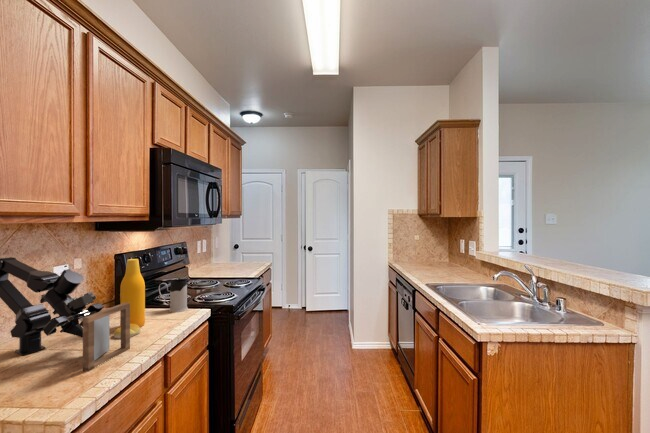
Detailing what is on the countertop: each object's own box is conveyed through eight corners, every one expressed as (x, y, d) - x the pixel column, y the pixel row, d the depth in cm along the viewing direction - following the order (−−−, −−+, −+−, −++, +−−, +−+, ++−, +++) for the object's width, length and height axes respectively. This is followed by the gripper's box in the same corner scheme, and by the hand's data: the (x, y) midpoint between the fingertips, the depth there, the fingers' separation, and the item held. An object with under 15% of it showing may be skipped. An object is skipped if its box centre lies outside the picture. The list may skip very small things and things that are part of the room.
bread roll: (109, 337, 125) (109, 327, 125) (130, 330, 133) (130, 320, 133) (123, 340, 122) (123, 330, 122) (144, 332, 130) (144, 323, 130)
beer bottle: (115, 330, 133) (115, 261, 133) (128, 322, 142) (128, 258, 142) (137, 330, 133) (137, 261, 133) (149, 322, 142) (149, 258, 142)
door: (68, 366, 99) (68, 322, 99) (92, 350, 112) (92, 310, 112) (88, 365, 100) (88, 321, 100) (109, 349, 112) (109, 309, 112)
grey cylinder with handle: (184, 312, 157) (184, 282, 157) (154, 312, 156) (154, 282, 156) (190, 307, 166) (190, 278, 166) (162, 307, 165) (162, 278, 165)
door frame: (82, 370, 98) (82, 317, 98) (124, 348, 115) (124, 302, 115) (88, 371, 97) (88, 317, 97) (129, 348, 114) (129, 302, 114)
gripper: (50, 293, 100) (82, 329, 99) (99, 281, 119) (126, 311, 118) (28, 317, 101) (60, 353, 100) (80, 301, 120) (107, 331, 118)
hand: (91, 335), depth 109 cm, fingers open, 3 cm apart
